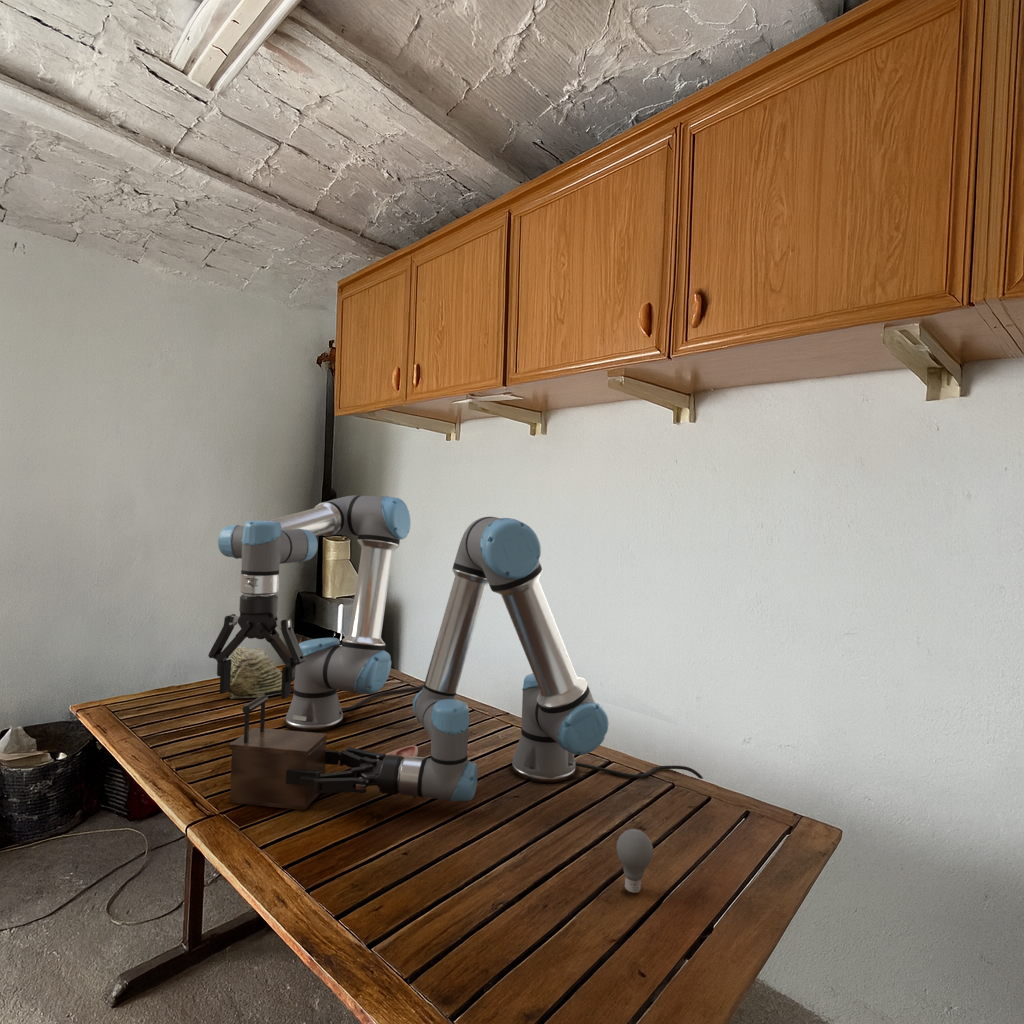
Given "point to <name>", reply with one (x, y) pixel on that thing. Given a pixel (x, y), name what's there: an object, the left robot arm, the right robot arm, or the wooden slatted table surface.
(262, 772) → the chest
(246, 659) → the fossil
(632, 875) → the light bulb
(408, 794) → the right robot arm
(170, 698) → the wooden slatted table surface
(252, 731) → the lid
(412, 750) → the anatomical model
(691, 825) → the wooden slatted table surface
